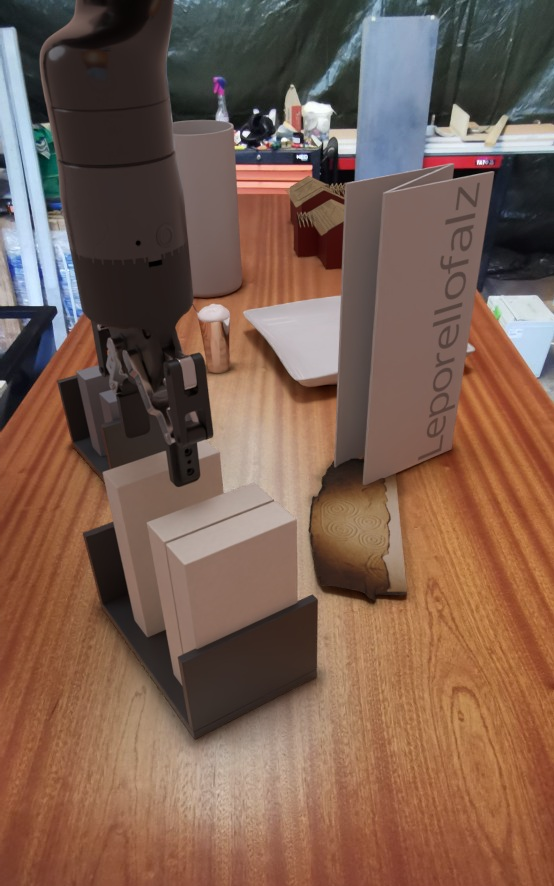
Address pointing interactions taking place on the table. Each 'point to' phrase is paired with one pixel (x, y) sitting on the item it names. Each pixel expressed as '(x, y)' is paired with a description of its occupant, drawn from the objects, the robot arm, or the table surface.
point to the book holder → (217, 606)
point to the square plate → (305, 337)
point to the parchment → (357, 532)
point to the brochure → (406, 313)
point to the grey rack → (103, 423)
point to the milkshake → (215, 336)
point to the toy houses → (318, 220)
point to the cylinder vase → (210, 204)
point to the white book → (145, 499)
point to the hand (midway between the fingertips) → (160, 457)
